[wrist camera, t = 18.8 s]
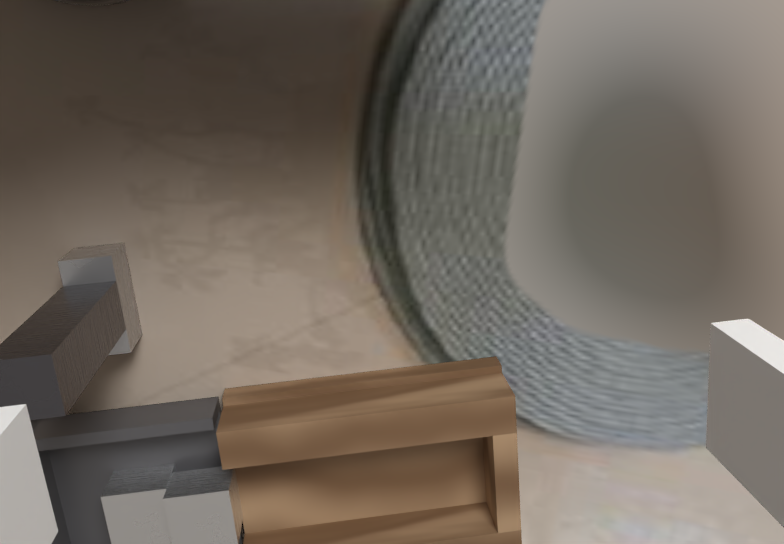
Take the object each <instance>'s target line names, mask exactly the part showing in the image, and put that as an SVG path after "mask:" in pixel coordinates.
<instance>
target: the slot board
mask: <svg viewBox="0 0 784 544" xmlns="http://www.w3.org/2000/svg"><path fill="white" fill-rule="evenodd" d="M222 401H223V409H222V413H221V416H220V420H219V424H218V428H217V431H216V435H217V441H218V447H219V453H220V458H221V464H222V470H226V469H234V468H235V472H236V478H237V484H238V490H239V496H240V502H241V507H242V513H243V526H244V532H245V536H244V542H243V544H522V541H521V519H520V496H519V473H518V450H517V428H516V405H515V395H514V393H513V392H512V390H511V388H510V386H509V385H508V383H507V381H506V379H505V377H504V376H503V374H502V368H501V364H500V362H499V361H498V359H497V357H488V358H480V359H471V360H463V361H454V362H446V363H438V364H429V365H421V366H412V367H404V368H396V369H387V370H379V371H370V372H362V373H354V374H345V375H337V376H328V377H320V378H312V379H303V380H295V381H286V382H278V383H270V384H261V385H253V386H244V387H236V388H228V389H225V390H224V394H223V398H222Z"/></svg>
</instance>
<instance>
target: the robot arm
mask: <svg viewBox="0 0 784 544" xmlns="http://www.w3.org/2000/svg"><path fill="white" fill-rule="evenodd" d="M55 1H60V2H65V3H70V4H78V5H109V4H116V3H121V2H126V1H129V0H55ZM706 448H707V449H708V450H709V451H710V452H711V453H712V454H713V455H714V456H715V457H716V458H717V459H718V460H719V461H720V463H721V464H722V465H723V466H724V467H725V468H726V469H727V470H728V471H729V472H730V473H731V474H732V475H733V476H734V477H735V478H736V479H737V480H738V481H739V482H740V483H741V484H742V485H743V486H744V487H745V488H746V489H747V490H748V491H749V492H750V493H751V494H752V495H753V496H754V497H755V498H756V499H757V501H758V502H759V503H760V504H761V505H762V506H763V507H764V508H765V509H766V510H767V511H768V512H769V513H770V514H771V515H772V516H773V517H774V518H775V519H776V520H777V521H778V522H779V523H780V524H781V525H782V526H783V527H784V341H783V340H781V339H780V338H778V337H777V336H775V335H774V334H772V333H770V332H769V331H767V330H766V329H764V328H762V327H761V326H759V325H758V324H756V323H754V322H753V321H751V320H750V319H741V320H733V321H725V322H717V323H711V330H710V356H709V382H708V409H707V435H706ZM57 533H58V528H57V524H56V520H55V516H54V512H53V508H52V504H51V500H50V497H49V493H48V489H47V485H46V481H45V477H44V473H43V469H42V465H41V461H40V457H39V453H38V449H37V445H36V441H35V437H34V433H33V429H32V425H31V421H30V417H29V413H28V409H27V405H26V404H22V405H14V406H5V407H0V544H52V542H53V540H54V538H55V536H56V534H57Z"/></svg>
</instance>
